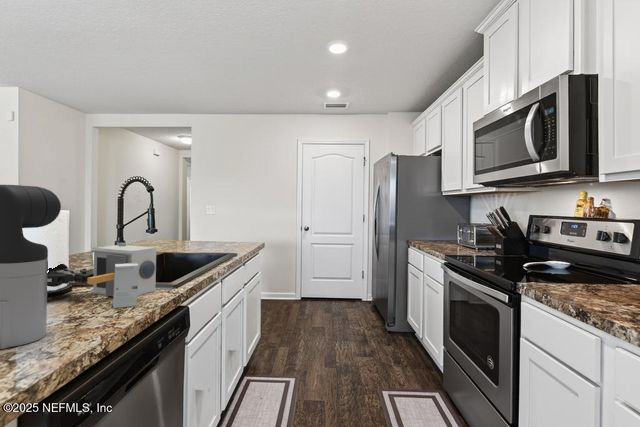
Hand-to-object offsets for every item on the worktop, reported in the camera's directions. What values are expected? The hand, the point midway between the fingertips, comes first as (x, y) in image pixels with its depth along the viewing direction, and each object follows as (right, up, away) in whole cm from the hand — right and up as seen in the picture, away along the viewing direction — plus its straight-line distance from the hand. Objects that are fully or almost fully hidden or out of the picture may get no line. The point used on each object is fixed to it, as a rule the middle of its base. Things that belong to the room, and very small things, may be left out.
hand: (87, 279), depth 97 cm
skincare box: (+13, -8, -2) cm, 15 cm away
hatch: (+4, -6, +1) cm, 8 cm away
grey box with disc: (+4, -7, +12) cm, 15 cm away
